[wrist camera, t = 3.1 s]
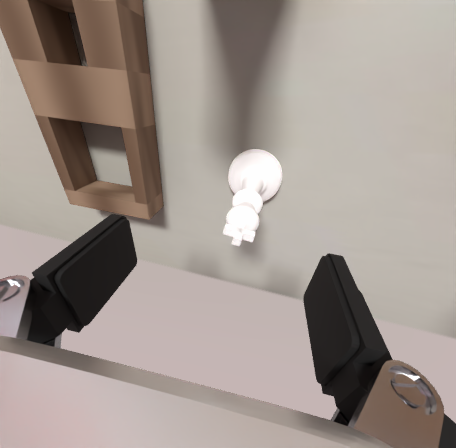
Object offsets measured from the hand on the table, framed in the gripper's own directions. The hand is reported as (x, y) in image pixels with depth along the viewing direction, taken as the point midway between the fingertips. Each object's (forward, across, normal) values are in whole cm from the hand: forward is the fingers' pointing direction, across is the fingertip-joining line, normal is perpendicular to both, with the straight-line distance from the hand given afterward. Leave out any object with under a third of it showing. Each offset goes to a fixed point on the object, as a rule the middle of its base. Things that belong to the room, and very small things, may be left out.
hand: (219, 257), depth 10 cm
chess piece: (+11, -1, 0) cm, 11 cm away
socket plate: (+11, +13, -4) cm, 18 cm away
